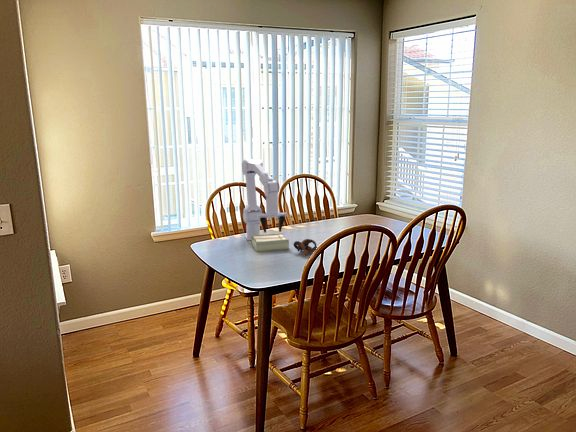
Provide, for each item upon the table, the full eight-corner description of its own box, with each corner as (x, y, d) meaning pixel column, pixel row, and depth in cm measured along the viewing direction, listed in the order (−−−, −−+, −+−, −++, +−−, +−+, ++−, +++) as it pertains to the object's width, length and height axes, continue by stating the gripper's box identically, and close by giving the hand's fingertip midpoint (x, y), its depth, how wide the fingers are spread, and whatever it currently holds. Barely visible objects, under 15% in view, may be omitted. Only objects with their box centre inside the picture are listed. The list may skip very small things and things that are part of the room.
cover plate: (253, 239, 258) (253, 236, 257) (281, 236, 261) (281, 233, 261) (257, 245, 247) (257, 241, 247) (286, 242, 251) (286, 239, 250)
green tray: (251, 244, 259) (251, 235, 258) (283, 242, 263) (282, 232, 262) (256, 251, 247) (255, 242, 246) (288, 249, 251) (288, 239, 250)
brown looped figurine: (316, 251, 249) (319, 239, 243) (312, 264, 242) (316, 253, 236) (293, 244, 250) (296, 233, 244) (289, 257, 243) (292, 246, 237)
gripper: (258, 207, 238) (259, 234, 241) (287, 206, 241) (288, 232, 244) (256, 204, 245) (257, 231, 248) (284, 203, 248) (285, 228, 251)
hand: (272, 231), depth 246 cm, fingers open, 7 cm apart
